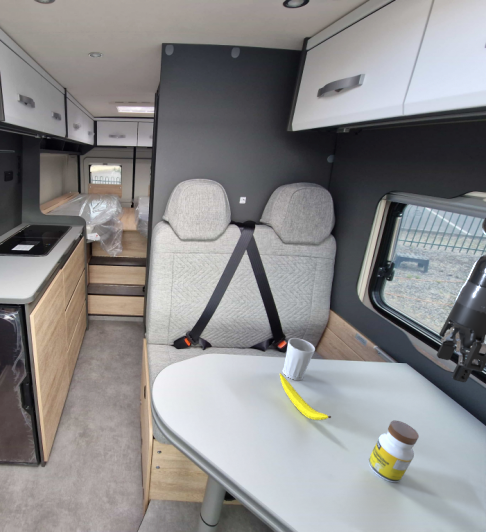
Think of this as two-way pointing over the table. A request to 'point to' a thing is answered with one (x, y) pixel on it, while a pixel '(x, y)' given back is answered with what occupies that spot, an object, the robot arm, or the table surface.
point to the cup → (297, 358)
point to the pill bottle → (390, 458)
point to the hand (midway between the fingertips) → (449, 368)
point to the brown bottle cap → (403, 432)
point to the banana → (301, 402)
